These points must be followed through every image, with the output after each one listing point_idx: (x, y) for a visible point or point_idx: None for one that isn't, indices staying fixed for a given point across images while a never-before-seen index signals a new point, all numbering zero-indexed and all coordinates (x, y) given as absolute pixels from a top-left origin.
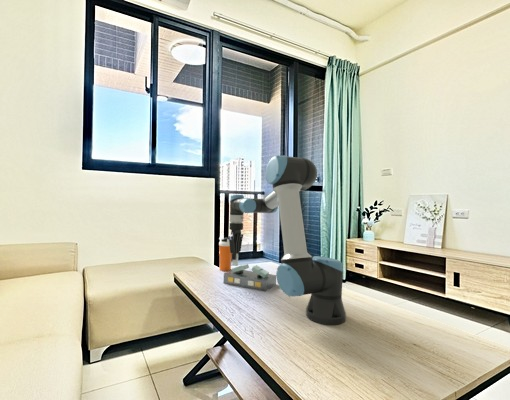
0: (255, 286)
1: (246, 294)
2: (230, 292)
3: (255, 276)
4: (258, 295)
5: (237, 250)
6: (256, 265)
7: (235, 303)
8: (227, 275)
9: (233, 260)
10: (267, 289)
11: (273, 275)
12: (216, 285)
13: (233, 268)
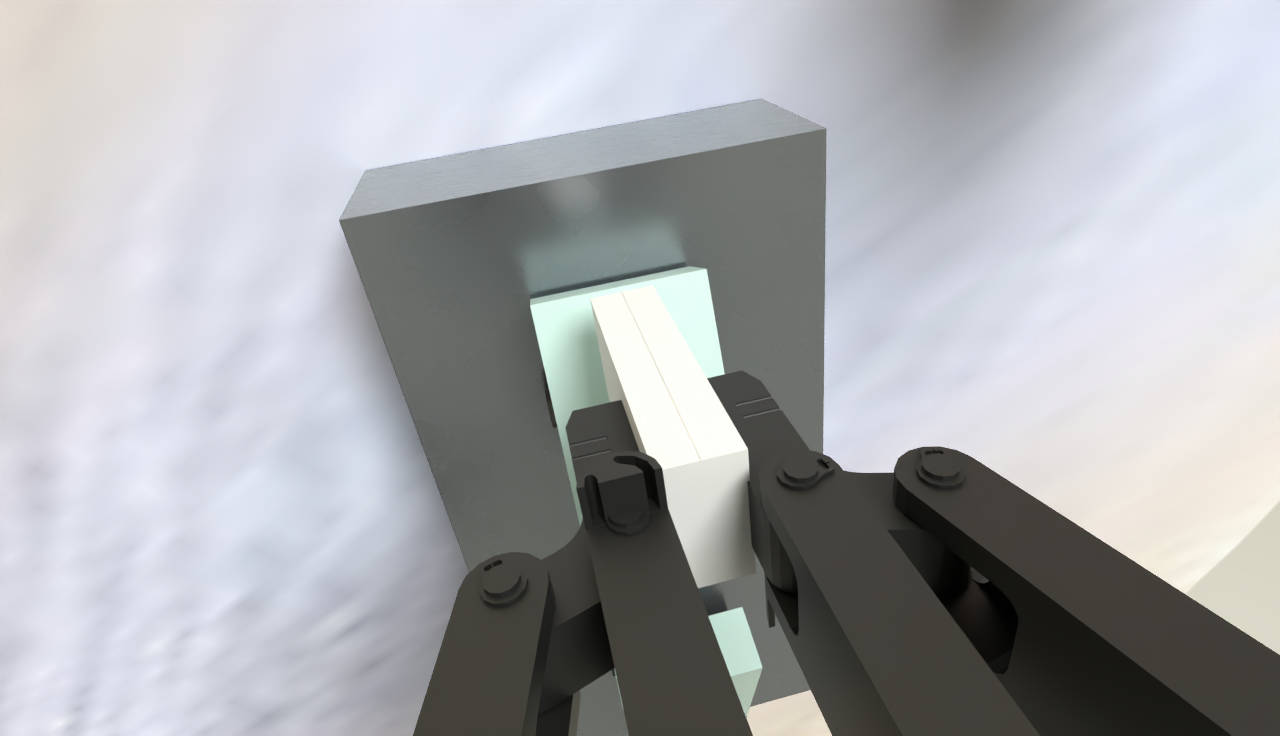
0: None
1: (295, 635)
2: (171, 511)
3: None
4: (377, 699)
5: (792, 629)
6: (749, 672)
7: (6, 730)
8: (373, 293)
9: (615, 380)
10: None
11: (790, 682)
12: (171, 177)
13: (540, 346)
